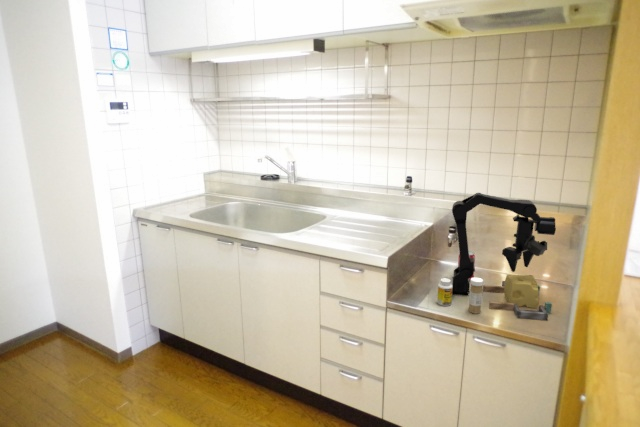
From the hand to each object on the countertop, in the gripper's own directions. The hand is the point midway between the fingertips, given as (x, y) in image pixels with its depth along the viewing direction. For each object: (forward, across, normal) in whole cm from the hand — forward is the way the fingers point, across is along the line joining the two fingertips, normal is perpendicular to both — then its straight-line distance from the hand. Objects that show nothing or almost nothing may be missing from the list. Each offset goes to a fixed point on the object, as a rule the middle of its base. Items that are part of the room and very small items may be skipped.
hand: (519, 269), depth 171 cm
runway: (+13, -3, -1) cm, 13 cm away
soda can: (+14, 0, +25) cm, 28 cm away
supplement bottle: (+14, -27, +14) cm, 34 cm away
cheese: (+13, -1, -3) cm, 14 cm away
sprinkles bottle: (+14, -23, +3) cm, 27 cm away
